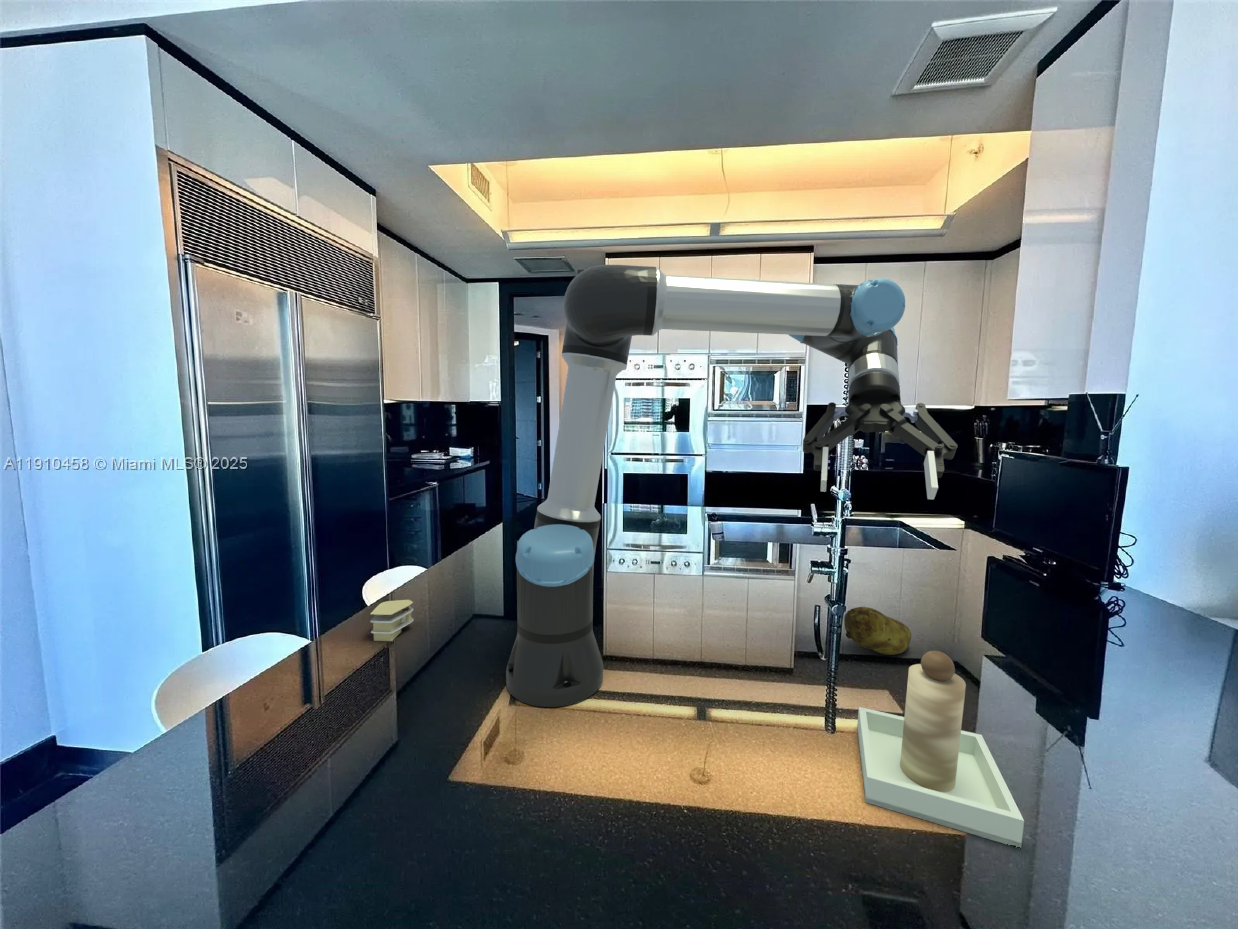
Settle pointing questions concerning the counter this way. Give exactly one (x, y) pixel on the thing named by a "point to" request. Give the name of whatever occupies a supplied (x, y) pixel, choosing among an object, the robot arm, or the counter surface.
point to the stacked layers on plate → (391, 619)
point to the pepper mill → (932, 722)
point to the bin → (967, 807)
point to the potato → (876, 631)
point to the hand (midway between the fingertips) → (875, 489)
